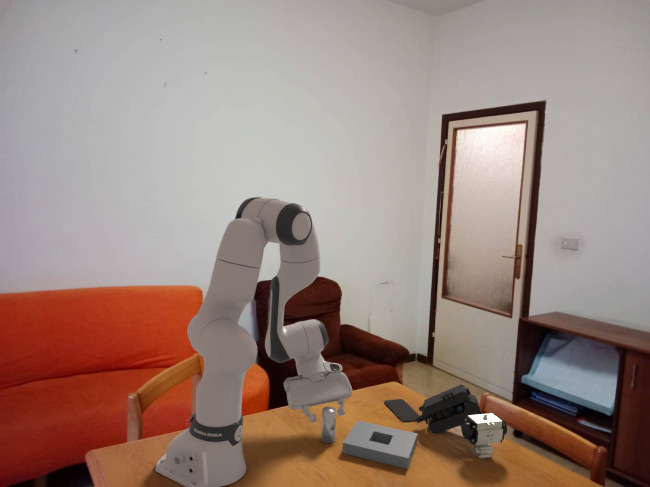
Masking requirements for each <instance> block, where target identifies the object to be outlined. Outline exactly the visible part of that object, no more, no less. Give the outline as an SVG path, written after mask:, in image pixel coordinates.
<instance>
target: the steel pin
mask: <svg viewBox="0 0 650 487" xmlns="http://www.w3.org/2000/svg"><path fill="white" fill-rule="evenodd" d="M336 424H337V409H336V407H334V406H324V407H323V408H321V428H320V429H321V433H320V434H321V435H320V441H321V442H322V443H324V444H332V443H334V442H335V440H336V427H337V426H336Z"/></svg>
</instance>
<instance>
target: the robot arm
mask: <svg viewBox="0 0 650 487" xmlns="http://www.w3.org/2000/svg"><path fill="white" fill-rule="evenodd" d="M268 243H272V244H273V243H274V244H278V245H279V246H278V247H279V258H280V259H279V260H280V263H279V267H278V270H277V273H276V275H275V276H274V277H272V278H271V281H270V285H269V295H268V296H269V297H268V308H267V310H268V311H267V323H266V324H267V325H266V333H265V340H264V347H265V348H264V349H265V351H266V354H267V357H268V358H269V359H271V360H272V361H274V362H276V363H279V364H283V363H285V362H288V361H290V360H292V359H294V361H295V367H296V371H297V375H296V376H290V377H286V379H284V381H283V388H284V391H285V392H286V398H287V399H286V400H287V403H288V408H290V410H291V411H296V410H302V412H303V414H304V415H305V416H307V418H308V420H309V422H310V423H315V422H316V421H317V417H316V413H312V411H311V410H310V409H311V407H316V406H320V405H325V404H330V403H335V402H337V405H339V407H338V409H336V414H337V415H338V416H339V417H341V416H344V415H345V414H346V411H345V408H344V407H345V400H348V399H349V398H351V396H353V388H352V385H351V382H350V380H349V378H348V376H347V375H346V373H344V372H342V371H343V366H342V364H339V363H335V362H329V361H326V360H325V358H324V357H323V355H322V353H321V352H323V351H324V350H325V348H326V347H327V345H328V343H329V341H330V339H329V335H328V332H327V329H326V327H325V324H324V323H323V322H322V321H320V320H318V319H316V318H315V319H308V320H304V321H303V320H301V321H297V322H295V323H292V324H288V325H285V326H284V317H285V306H286V304H287V302H288V301H289V300H290V299H291V298H292V297H294V295H296V294H298V292H300V291H302V290H304V289H306V288H307V287H309V286H310V285H311V284H313V282H314V281H315V280H316V279H317V277H318V275H319V274H320V270H321V256H320V255H321V254H320V245H319V240H318V235H317V232H316V229H315V225H314V223H313V219H312V216H311V214H310V212H309V211H308V209H307V208H306V207H304V206H302V205H301V204H298V203H294V202H287V201H284V200H281V199H278V198H271V197H270V198H269V197H268V198H267V197H261V196H256V197H249V198H246V199H245V200H243V201H242V203H241V204H240V205H239V207H238V208H237V210H236V214H235V218H234V219H233V220H231V221H230V222H229V223H228V224H227V226H226V228H225V231H224V233H223V235H222V237H221V241H220V244H219V247H218V250H217V254H216V256H215V261H214V264H213V265H214V266H213V270H212V274H211V278H210V282H209V286H208V289H207V292H206V294H205V296H204V298H203V301H202V303H201V306H200V307H199V309H198V311H197V313H196V315H194V316H193V317H192V318H191V320H190V321H189V323H188V325H187V334H186V335H187V336H188V341H189V342H190V345H191V347H192V349H193V350H194V351H196V352H197V353H198V354H199V355H200V356H201V357H202V359H203V363H204V364H203V365H204V368H203V371H202V372H203V373H202V377H201V379H200V382H199V383H198V384H197V385H196V388H195V391H196V392H195V412H194V413H193V414H192V415H191V416H190V417H189V418H188V419H187V420H186V421H185V422H186V423H185V425H186V426H188V425H189V424H190V426H189V427H187V428H186V429H184V430H182V432H180V433H178V434H177V436H175V437H173V439H171V441H170V442H169V444H168V445H167V449H166V452H165V454H163V455H162V457H160V458H159V459H158V461H157V463H156V465H155V472H156V473H158V474H161V475H162V476H164V477H166V478H168V479H169V480H172V481H174V482H176V483H178V484H179V485H181V486H184V487H225V486H228V485H231V484H234V483H235V482H238V480H241V479H242V477H243V476H245V474H246V472H247V464H246V461H245V457H244V451H243V443H242V442H243V441H242V439H243V432H244V431H243V430H244V415H243V413H242V405H243V386H244V381H245V377H246V374H247V371H248V370H249V369H251V367H252V366H253V365H254V363H255V362H256V360H257V357H258V356H257V355H258V345H257V343H256V341H255V339H254V338H253V336H252V335H251V333H250V332H249V331H248V330H247V328H245V327H243V326H241V325H239V320H240V318H241V315H242V314H243V312H244V310H245V308H246V307H247V306H248V304H250V303H251V302H252V301H253V299H254V297H255V295H256V290H257V285H258V281H259V277H260V272H261V269H262V268H261V267H262V265H263V264H262V263H263V260H264V259H263V258H264V251H265V248H266V246H267V245H268Z"/></svg>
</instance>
